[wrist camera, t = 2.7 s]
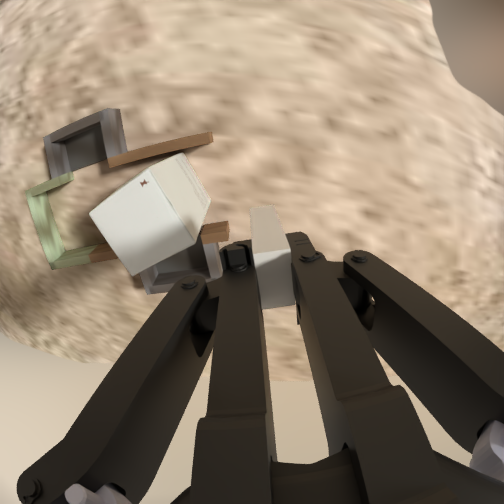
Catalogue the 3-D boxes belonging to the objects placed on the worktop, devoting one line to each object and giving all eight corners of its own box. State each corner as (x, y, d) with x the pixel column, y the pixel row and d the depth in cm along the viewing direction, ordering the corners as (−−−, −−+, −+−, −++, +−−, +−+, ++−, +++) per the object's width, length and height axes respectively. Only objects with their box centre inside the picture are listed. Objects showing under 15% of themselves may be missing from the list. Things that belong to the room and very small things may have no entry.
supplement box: (135, 181, 32) (85, 211, 20) (183, 150, 30) (149, 164, 19) (164, 229, 35) (130, 279, 23) (213, 202, 33) (197, 243, 22)
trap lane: (31, 149, 28) (16, 152, 25) (204, 85, 27) (199, 81, 24) (76, 290, 38) (66, 302, 35) (237, 269, 37) (236, 283, 34)
